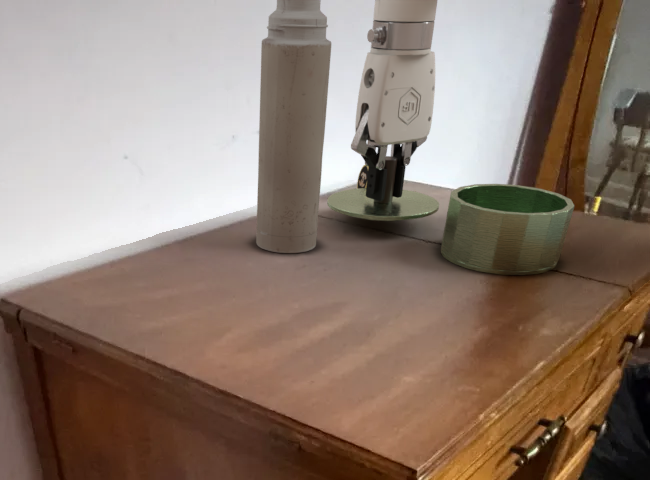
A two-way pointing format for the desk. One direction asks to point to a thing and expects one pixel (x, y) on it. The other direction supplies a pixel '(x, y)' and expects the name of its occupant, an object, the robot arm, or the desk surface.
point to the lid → (384, 201)
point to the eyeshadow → (363, 177)
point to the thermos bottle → (292, 126)
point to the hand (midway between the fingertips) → (383, 195)
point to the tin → (505, 228)
